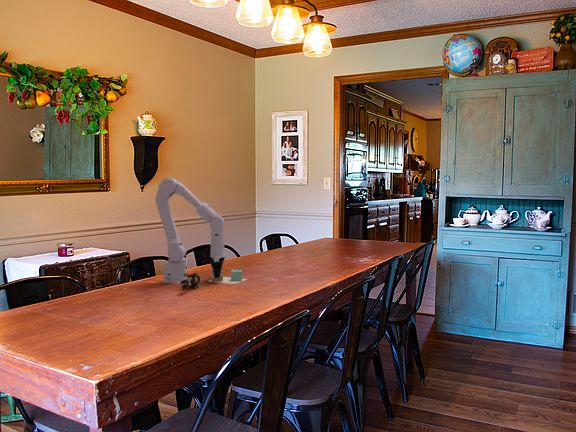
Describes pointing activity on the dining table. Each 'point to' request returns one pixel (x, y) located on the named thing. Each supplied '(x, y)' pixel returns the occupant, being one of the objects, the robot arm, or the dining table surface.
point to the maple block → (217, 278)
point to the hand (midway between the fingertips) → (217, 275)
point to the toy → (191, 281)
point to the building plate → (228, 280)
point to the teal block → (236, 275)
